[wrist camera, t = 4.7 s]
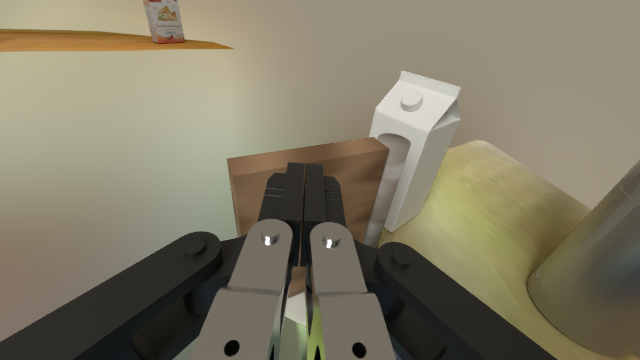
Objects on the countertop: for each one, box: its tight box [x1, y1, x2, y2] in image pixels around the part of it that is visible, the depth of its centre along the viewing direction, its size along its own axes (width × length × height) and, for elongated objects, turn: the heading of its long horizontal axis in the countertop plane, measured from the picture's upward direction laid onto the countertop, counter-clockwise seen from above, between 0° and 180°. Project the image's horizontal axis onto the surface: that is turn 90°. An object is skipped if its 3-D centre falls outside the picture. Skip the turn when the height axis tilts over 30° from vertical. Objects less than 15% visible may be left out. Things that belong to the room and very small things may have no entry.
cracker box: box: [143, 0, 185, 44], centre depth 125 cm, size 14×6×21 cm, turn 146°
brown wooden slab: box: [227, 133, 411, 298], centre depth 22 cm, size 14×3×15 cm, turn 116°
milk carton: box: [369, 71, 461, 233], centre depth 33 cm, size 7×7×19 cm
